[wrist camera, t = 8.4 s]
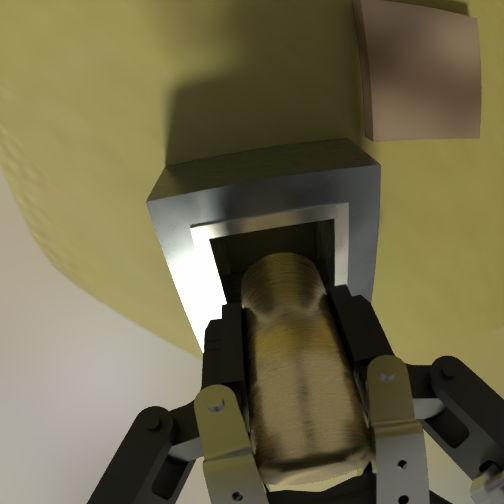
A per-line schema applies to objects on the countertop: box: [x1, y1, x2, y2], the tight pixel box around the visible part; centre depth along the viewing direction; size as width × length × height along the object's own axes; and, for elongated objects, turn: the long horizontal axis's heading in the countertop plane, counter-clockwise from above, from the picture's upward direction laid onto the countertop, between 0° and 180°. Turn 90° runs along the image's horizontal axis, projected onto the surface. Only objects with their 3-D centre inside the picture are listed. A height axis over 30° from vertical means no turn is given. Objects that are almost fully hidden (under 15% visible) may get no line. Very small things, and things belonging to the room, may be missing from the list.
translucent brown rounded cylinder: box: [241, 253, 370, 485], centre depth 10 cm, size 3×3×8 cm
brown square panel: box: [352, 0, 481, 142], centre depth 12 cm, size 7×7×1 cm
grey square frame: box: [146, 138, 381, 353], centre depth 15 cm, size 10×9×5 cm
